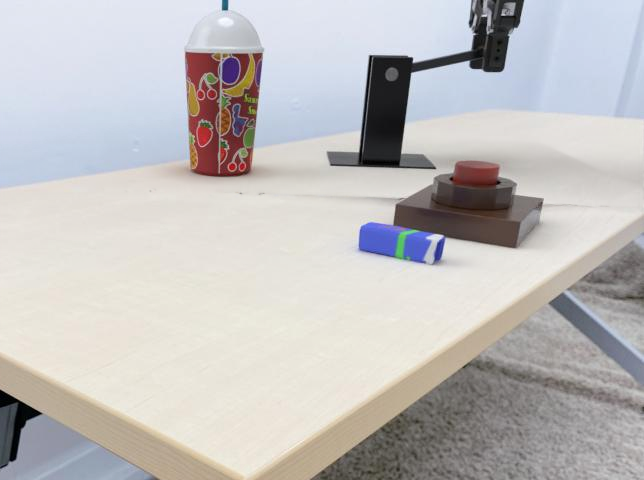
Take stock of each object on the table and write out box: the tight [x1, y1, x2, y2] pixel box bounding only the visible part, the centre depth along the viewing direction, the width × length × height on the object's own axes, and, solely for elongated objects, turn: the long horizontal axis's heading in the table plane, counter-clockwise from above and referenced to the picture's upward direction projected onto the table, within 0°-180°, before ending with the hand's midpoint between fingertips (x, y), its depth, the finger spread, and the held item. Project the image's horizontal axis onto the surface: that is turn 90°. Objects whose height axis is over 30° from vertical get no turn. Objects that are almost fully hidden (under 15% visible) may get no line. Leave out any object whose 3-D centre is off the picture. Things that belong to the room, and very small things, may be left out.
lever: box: [411, 44, 485, 74], centre depth 81 cm, size 13×6×2 cm, turn 83°
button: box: [453, 160, 501, 186], centre depth 60 cm, size 4×4×2 cm
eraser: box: [358, 221, 446, 265], centre depth 54 cm, size 2×6×2 cm, turn 53°
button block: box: [392, 172, 544, 249], centre depth 61 cm, size 10×10×4 cm
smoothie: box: [183, 0, 265, 177], centre depth 75 cm, size 8×8×20 cm
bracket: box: [326, 54, 437, 170], centre depth 84 cm, size 12×9×13 cm
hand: (485, 69), depth 80 cm, fingers closed on lever, 5 cm apart
